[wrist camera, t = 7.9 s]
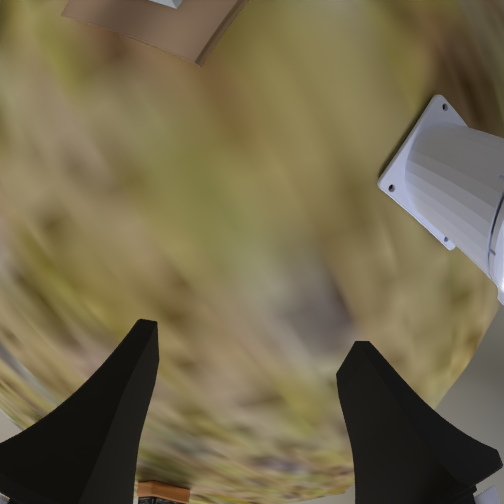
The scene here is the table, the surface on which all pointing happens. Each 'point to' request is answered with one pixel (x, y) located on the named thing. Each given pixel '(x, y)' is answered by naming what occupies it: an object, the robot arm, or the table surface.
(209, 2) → the walnut block
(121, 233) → the table surface
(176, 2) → the slate block
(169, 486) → the whiskey bottle
